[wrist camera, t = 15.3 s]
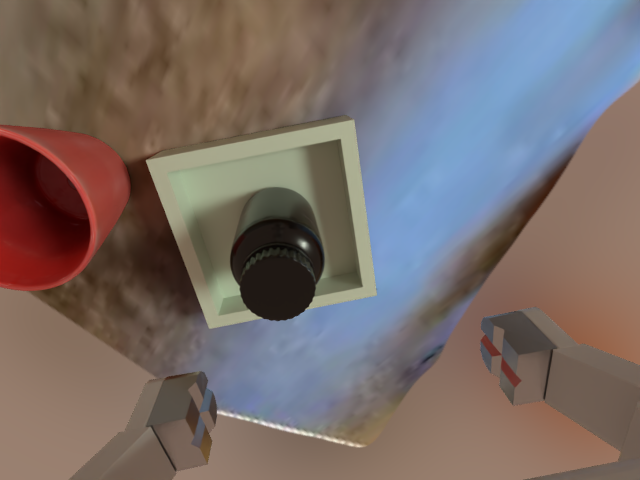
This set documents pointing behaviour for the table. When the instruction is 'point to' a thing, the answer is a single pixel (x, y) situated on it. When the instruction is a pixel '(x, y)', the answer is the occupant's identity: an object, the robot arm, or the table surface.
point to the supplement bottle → (277, 254)
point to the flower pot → (55, 204)
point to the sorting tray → (248, 179)
